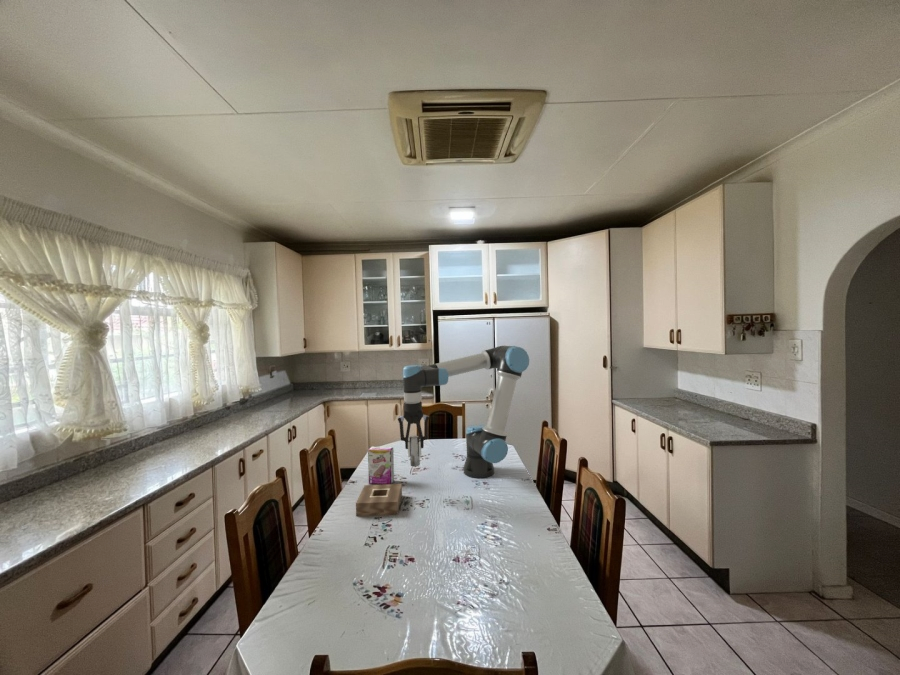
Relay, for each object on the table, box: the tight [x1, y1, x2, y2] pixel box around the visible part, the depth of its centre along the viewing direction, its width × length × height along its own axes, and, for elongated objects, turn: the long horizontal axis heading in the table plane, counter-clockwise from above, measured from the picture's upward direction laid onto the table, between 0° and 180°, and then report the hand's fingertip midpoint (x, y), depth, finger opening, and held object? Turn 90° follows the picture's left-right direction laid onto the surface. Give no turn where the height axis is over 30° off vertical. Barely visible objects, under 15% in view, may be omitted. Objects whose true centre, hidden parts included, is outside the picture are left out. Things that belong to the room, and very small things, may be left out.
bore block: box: [355, 483, 403, 517], centre depth 145 cm, size 16×16×5 cm
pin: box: [409, 435, 421, 468], centre depth 152 cm, size 4×4×12 cm
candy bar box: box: [367, 446, 395, 485], centre depth 167 cm, size 11×5×16 cm, turn 84°
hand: (414, 455), depth 152 cm, fingers closed on pin, 4 cm apart
